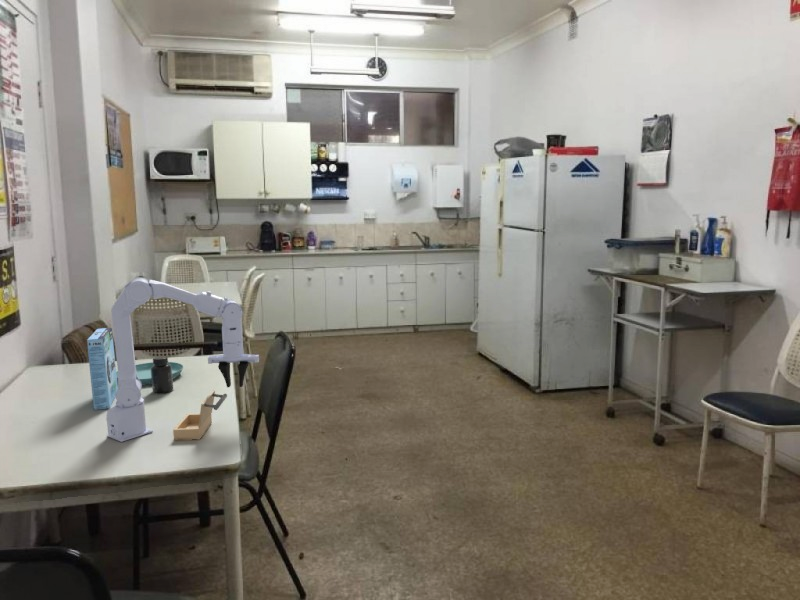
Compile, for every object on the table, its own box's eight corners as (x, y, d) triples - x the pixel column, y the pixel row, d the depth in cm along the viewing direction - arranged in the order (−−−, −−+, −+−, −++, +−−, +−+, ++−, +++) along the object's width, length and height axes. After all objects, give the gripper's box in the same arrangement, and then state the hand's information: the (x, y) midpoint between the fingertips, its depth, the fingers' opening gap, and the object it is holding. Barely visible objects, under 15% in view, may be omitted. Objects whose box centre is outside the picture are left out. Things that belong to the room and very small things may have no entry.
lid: (201, 404, 165) (217, 406, 165) (213, 390, 177) (228, 392, 178) (198, 427, 166) (214, 430, 166) (210, 412, 178) (225, 414, 179)
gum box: (109, 408, 193) (103, 338, 190) (92, 410, 192) (85, 339, 188) (118, 391, 211) (113, 327, 208) (102, 393, 210) (96, 328, 207)
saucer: (134, 369, 241) (133, 361, 241) (193, 369, 240) (193, 361, 240) (101, 387, 218) (101, 378, 217) (167, 387, 216) (167, 378, 216)
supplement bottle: (166, 387, 216) (164, 354, 214) (177, 390, 212) (174, 357, 210) (148, 391, 211) (146, 358, 209) (158, 395, 207) (156, 361, 205)
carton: (173, 440, 166) (173, 429, 165) (187, 424, 178) (187, 414, 178) (199, 439, 166) (199, 429, 166) (211, 423, 179) (211, 413, 178)
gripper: (260, 338, 182) (262, 381, 184) (211, 339, 182) (213, 383, 184) (255, 343, 175) (257, 388, 177) (204, 344, 175) (207, 389, 177)
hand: (235, 386), depth 180 cm, fingers open, 3 cm apart
